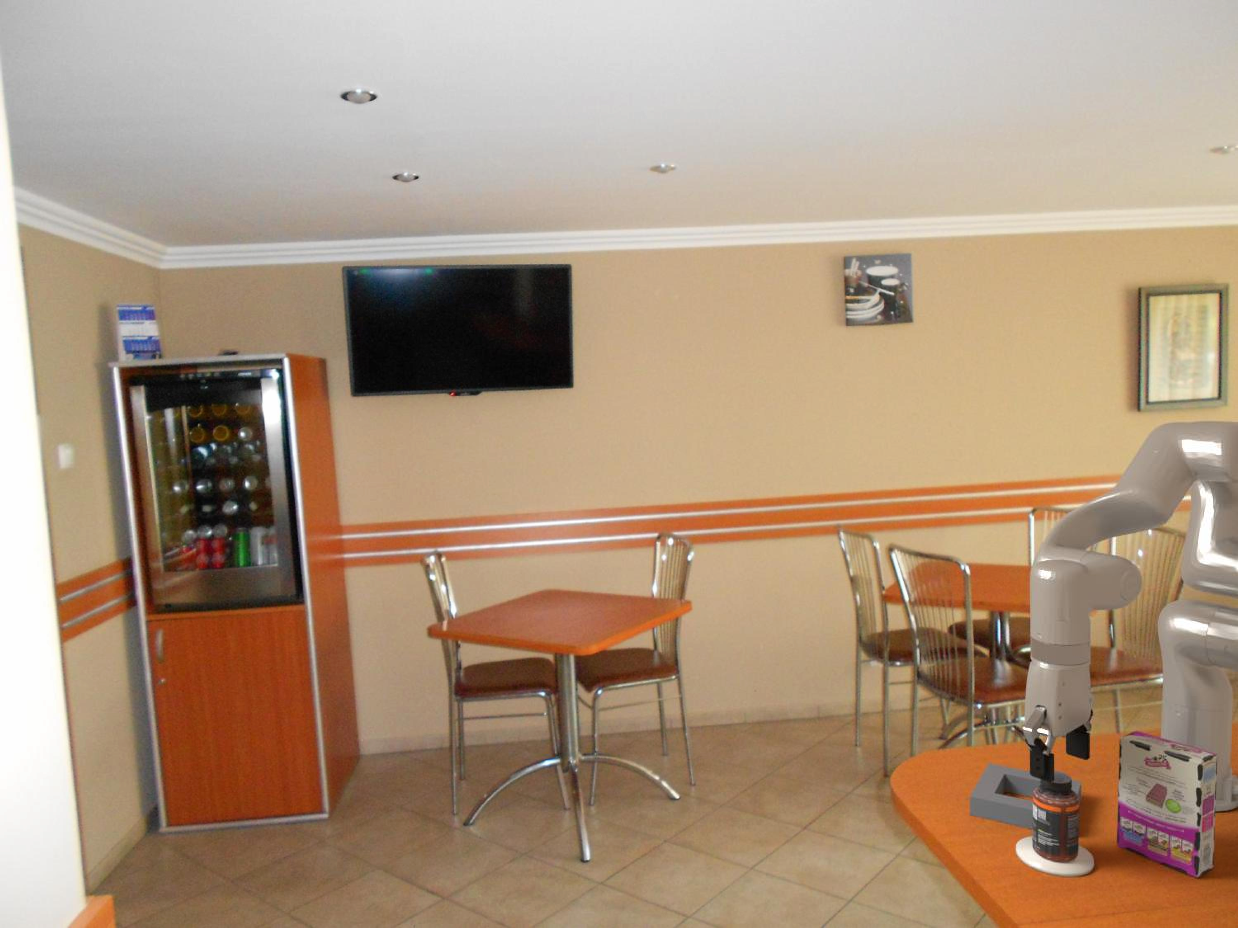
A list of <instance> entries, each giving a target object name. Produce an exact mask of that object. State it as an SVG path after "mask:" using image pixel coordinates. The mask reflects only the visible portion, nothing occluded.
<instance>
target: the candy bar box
mask: <svg viewBox="0 0 1238 928" xmlns="http://www.w3.org/2000/svg"><path fill="white" fill-rule="evenodd" d="M1118 744H1119V745H1118V746H1119V748H1118V749H1119V750H1118V754H1119V755H1118V785H1117V786H1118V787H1117V788H1118V789H1117V790H1118V791H1117V793H1118V795H1117V822H1116V825H1117V828H1116V846H1117V847H1118V848H1121V849H1123V850H1127V851H1129V852H1131V853H1134V854H1136V855H1139V856H1140V857H1144V858H1146V859H1147V860H1150V861H1153V862H1156V863H1159V864H1161V865H1164V866H1166V867H1168V868H1171V869H1174V870H1176V871H1179V872H1180V873H1184V874H1186V875H1189V876H1191V877H1194V878H1197V879H1198V878H1200V877H1201V876H1203V875H1204V874H1207V872H1209V871H1211V870H1212V869H1213V868H1214V863H1215V860H1214V859H1215V835H1216V834H1215V832H1216V829H1215V828H1216V811H1215V806H1216V780H1217V754H1215V753H1211V752H1208V751H1204V750H1201V749H1198V748H1194V747H1191V746H1187V745H1184V744H1181V743H1177V742H1174V741H1170V740H1167V739H1163V738H1161V736H1160V737H1159V736H1156V735H1153V734H1150V733H1149V734H1148V733H1145V732H1142V731H1138V730H1135V731H1132V732H1130V733H1128V734H1126V735H1123V736H1121V737H1119V743H1118Z"/></svg>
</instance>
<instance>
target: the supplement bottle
mask: <svg viewBox="0 0 1238 928" xmlns="http://www.w3.org/2000/svg"><path fill="white" fill-rule="evenodd" d="M1072 780H1073V779H1072V777H1071V776H1070V775H1069V774H1066V772H1062V771H1057V770H1054V781H1053V782H1047V781H1044V780H1042V779H1041V780H1040V783H1041V785H1039V786H1037V787H1036V788H1035V789H1034V791H1033V797H1032V801H1033V829H1032V835H1031V836H1032V844H1033V849H1034V851H1035V852H1036V853H1037V854H1038V855H1040V856H1042V857H1044V858H1046V859H1048V860H1052V861H1059V862H1068V861H1071V860H1074V859H1075V858H1076V857H1077V856H1078V849H1079V848H1078V847H1079V846H1078V845H1079V844H1080V843H1079V841H1080V839H1079V838H1080V837H1079V836H1080V835H1079V833H1080V825H1079V824H1080V805H1079V798H1078V795H1077V794H1076V793H1075V792H1074V791H1073V790H1072V789H1071V788H1072Z"/></svg>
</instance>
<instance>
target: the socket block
mask: <svg viewBox="0 0 1238 928" xmlns="http://www.w3.org/2000/svg"><path fill="white" fill-rule="evenodd" d="M1040 780H1041V779H1039V778H1036V777H1033V776H1031V775H1030V770H1026V769H1020V768H1015V767H1011V766H1004V765H1000V764H995V763H988V764H987V766H986V768H985V769H984V771H983V773H982V775H981V777H980V778H979V780H978V782H977V783H976V785H975V787H974V789H973V790H972V792H971V794H970V796H969V815H970V816H974V817H978V818H983V819H986V820H991V821H995V822H999V823H1004V824H1007V825H1013V826H1017V827H1020V828H1025V829H1029V830H1033V800H1028V799H1024V798H1018V797H1014V796H1010V795H1006V794H1004V793H1005V792H1006V793H1011V794H1016V795H1020V796H1025V797H1028V798H1033V791H1034V789H1035V788H1036V787H1037V786H1039V785H1041V783H1040ZM1071 789H1072V790H1073V791H1074V792H1075V793H1076V794H1077V795H1078V798H1079V806H1080V805H1081V801H1082V781H1079V780H1075V779H1072V788H1071Z"/></svg>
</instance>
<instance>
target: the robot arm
mask: <svg viewBox="0 0 1238 928" xmlns="http://www.w3.org/2000/svg"><path fill="white" fill-rule="evenodd" d="M1188 492H1189V494H1190V501H1191V506H1190V513H1189V520H1188V524H1187V531H1186V534H1185V538H1184V539H1185V540H1184V544H1183V552H1182V556H1181V561H1180V562H1181V564H1180V576H1181V580H1182V581H1183V582H1184V584H1185V585H1187V586H1188V587H1189V588H1190V589H1194V590H1196V591H1199V592H1202V593H1207V594H1211V595H1218V596H1221V597H1222V596H1223V597H1227V598H1233V599H1238V421H1223V420H1220V421H1219V420H1203V421H1202V420H1201V421H1190V422H1187V421H1186V422H1185V421H1183V422H1182V421H1181V422H1180V421H1178V422H1177V421H1176V422H1168V423H1163V424H1160V425H1159V426H1157V427H1155V428H1154V429H1153V430H1152V431H1151V432H1150V433H1149V434H1148V435H1147V437H1146V438H1145V440H1144V441H1143V443H1142V445H1141V446H1140V448H1138V451H1137V452H1136V454H1135V455H1134V457H1133V458H1132V460H1131V462H1130V463H1129V464H1128V466H1127V468H1126V469H1125V471H1123V473H1122V475H1121V476H1120V477H1119V479H1118V481H1117V482H1116V484H1115V485H1114V487H1113V488H1112V489H1111V490H1110V491H1108V492H1105V493H1104V494H1101V495H1099V496H1097V497H1095V498H1093V499H1091V500H1090V501H1087V502H1086V503H1084V504H1082V505H1080V506H1079V507H1077V508H1075V509H1073V510H1072V511H1070V512H1067V514H1066V515H1064V516H1063V517H1061V519H1059V520H1058V521H1057V522H1056V523H1055V525H1054V526H1053V527H1052V528H1051V529H1050V532H1049V533H1048V534H1047V536H1046V537H1045V539H1044V540H1043V542H1042V544H1041V545H1040V546H1039V548H1038V550H1037V552H1036V554H1035V556H1034V558H1033V561H1032V566H1031V568H1030V571H1029V572H1030V573H1029V593H1030V594H1029V598H1030V599H1029V602H1030V603H1029V604H1030V605H1029V607H1030V609H1029V614H1030V615H1029V616H1030V617H1029V618H1030V620H1029V621H1030V623H1029V624H1030V629H1029V630H1030V634H1029V635H1030V638H1029V639H1030V641H1029V642H1030V657H1029V658H1030V659H1031V661H1030V662H1029V666H1028V672H1027V676H1026V677H1027V679H1026V687H1025V699H1024V725H1023V727H1022V732H1023V734H1024V735H1023V736H1024V738H1025V739H1024V742H1025V744H1026V745H1027V749H1028V750H1029V771H1030V775H1031V776H1033V777H1036V778H1039V779H1042V780H1044V781H1047V782H1053V781H1054V771H1055V753H1052V751H1053V748H1054V745H1055V742H1056V739H1058V738H1061V737H1063V736H1065V754H1066V755H1068V756H1071V757H1074V758H1078V759H1081V760H1084V761H1088V760H1089V759H1091V733H1090V732H1091V731H1092V728H1093V727H1092V726H1093V725H1092V723H1091V719H1092V717H1093V716H1094V711H1093V708H1094V705H1095V704H1094V703H1095V700H1096V697H1095V694H1093V693H1092V686H1091V685H1092V684H1091V673H1090V665H1091V614H1092V612H1094V611H1095V612H1096V611H1112V610H1118V609H1119V610H1120V609H1122V608H1124V607H1127V606H1129V605H1131V604H1132V603H1133V602H1134V601H1136V599H1137V598H1139V595H1140V594H1141V592H1142V588H1143V576H1142V572H1141V571H1140V569H1139V567H1138V566H1137V565H1136V564H1135V562H1133V561H1131V560H1130V559H1127V558H1125V557H1123V556H1119V555H1116V554H1115V555H1114V554H1109V553H1104V552H1097V551H1094V550H1092V551H1091V550H1088V549H1089V548H1090V547H1092V546H1094V545H1096V544H1098V543H1100V542H1102V541H1105V540H1106V541H1107V540H1109V539H1112V538H1116V537H1121V536H1125V535H1126V536H1127V535H1131V534H1137V533H1141V532H1145V531H1149V530H1154V529H1157V528H1160V527H1162V526H1164V525H1166V524H1167V523H1169V522H1170V520H1171V519H1172V518H1173V516H1174V514H1175V513H1176V511H1177V510H1178V508H1179V506H1180V504H1181V503H1182V502H1183V500H1184V498H1185V497H1186V495H1187V493H1188ZM1157 635H1158V640H1159V647H1160V652H1161V659H1162V660H1161V661H1162V696H1161V697H1162V698H1161V702H1162V703H1161V723H1160V724H1161V725H1160V726H1161V727H1160V738H1163V739H1167V740H1170V741H1174V742H1177V743H1181V744H1184V745H1187V746H1191V747H1194V748H1198V749H1201V750H1204V751H1208V752H1211V753H1215V754H1217V780H1216V806H1215V812H1226V811H1230V810H1233V809H1236V808H1238V776H1237V775H1235V774H1234V775H1233V767H1232V766H1231V756H1232V755H1231V754H1232V753H1231V752H1232V735H1233V734H1232V733H1233V732H1232V731H1233V730H1232V729H1233V712H1234V711H1233V707H1234V692H1233V687H1232V684H1231V681H1230V679H1229V677H1228V675H1227V674H1226V671H1225V670H1230V671H1235V672H1238V607H1234V606H1230V605H1226V604H1222V603H1216V602H1211V601H1205V600H1200V599H1191V598H1190V599H1187V598H1184V599H1182V598H1181V599H1178V600H1174V601H1172V602H1169V603H1168V604H1166V605H1165V606H1164V607H1163V608H1162V609H1161V611H1160V613H1159V615H1158V620H1157ZM1224 669H1225V670H1224ZM1044 728H1048V729H1049V730H1047V729H1044ZM1040 736H1044V737H1047V738H1046V741H1045V742H1044V740H1042V739H1041V738H1040Z"/></svg>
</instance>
